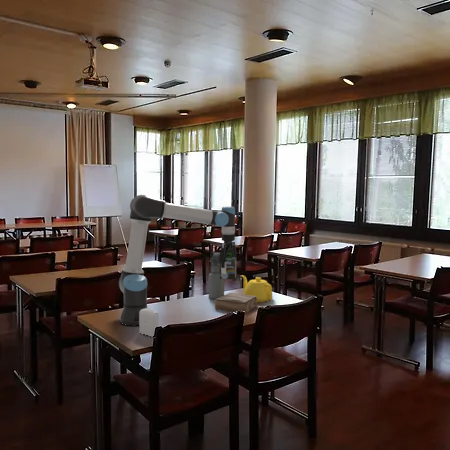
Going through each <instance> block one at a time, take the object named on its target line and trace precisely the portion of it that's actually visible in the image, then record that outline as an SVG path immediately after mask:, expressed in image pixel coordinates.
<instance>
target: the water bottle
mask: <svg viewBox="0 0 450 450" xmlns="http://www.w3.org/2000/svg"><path fill="white" fill-rule="evenodd" d="M210 259H211V261H210V263H211V265H210V267H209V274H208V298H209V299H211V300H216V299H217V298H219V297H221V296H224V295H225V279H220V262H219V259H220V252H214V253H212V257H211V258H210Z"/></svg>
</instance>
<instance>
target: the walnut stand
mask: <svg viewBox="0 0 450 450" xmlns="http://www.w3.org/2000/svg"><path fill="white" fill-rule="evenodd" d="M214 300H215V301H214V310H217V311H222V312H224V311H225V312H229V313H235V312H236V311H238V310H242V311H245V312H246V313H248V312H249V310H250V309H251V310H253V309H254V307H255V308H257V307H258V302H257V297H256V296H251V295H244V293H242V294H240V293H235V292H228V293H226V294H224V296H221V297H219V298H217V299H214ZM256 306H257V307H256ZM252 308H253V309H252ZM251 310H250V311H251ZM247 311H248V312H247Z"/></svg>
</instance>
